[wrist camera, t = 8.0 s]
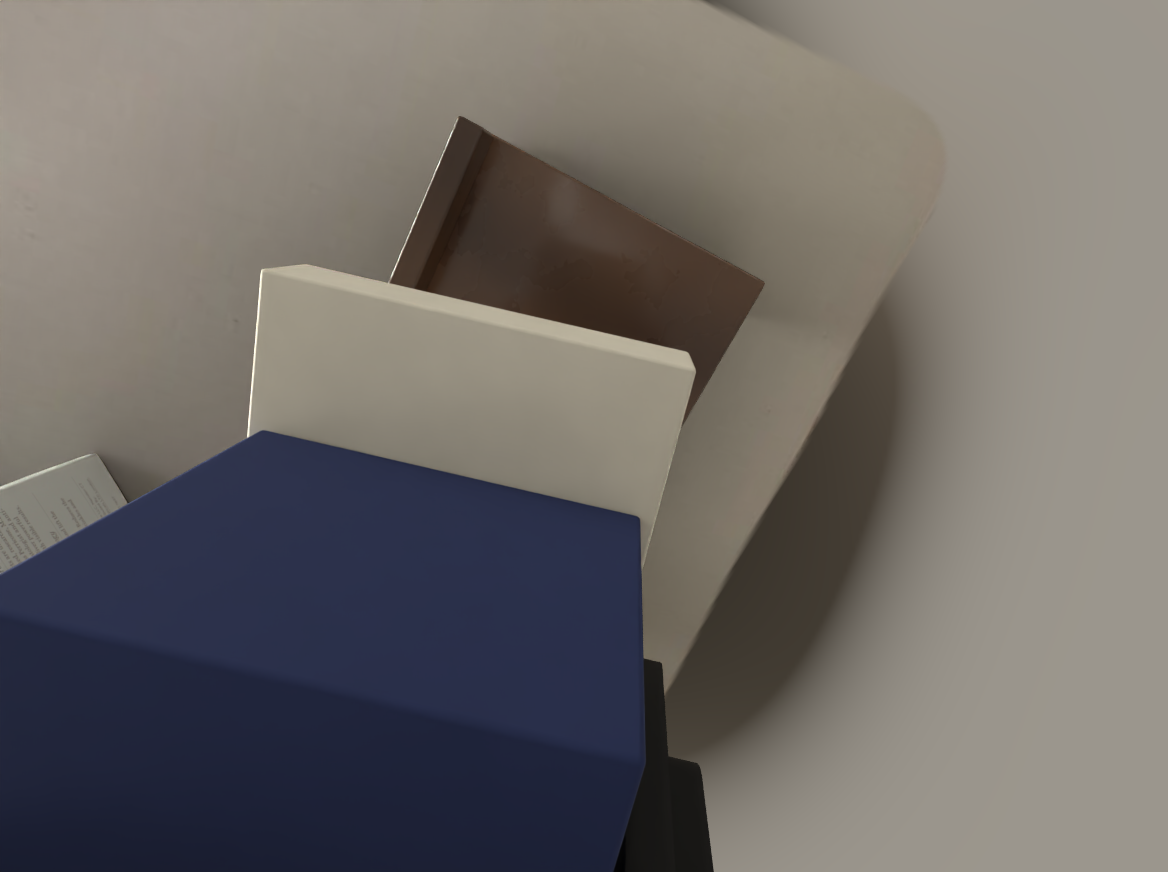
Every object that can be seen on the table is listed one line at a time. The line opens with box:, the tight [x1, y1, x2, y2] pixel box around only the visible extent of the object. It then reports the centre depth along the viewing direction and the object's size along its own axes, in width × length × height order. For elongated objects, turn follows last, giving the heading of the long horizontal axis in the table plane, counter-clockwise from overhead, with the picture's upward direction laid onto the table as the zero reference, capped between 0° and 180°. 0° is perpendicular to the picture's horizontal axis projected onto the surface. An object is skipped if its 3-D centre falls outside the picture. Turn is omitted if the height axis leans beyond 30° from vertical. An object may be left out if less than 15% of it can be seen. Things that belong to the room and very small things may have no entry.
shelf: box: [388, 116, 765, 427], centre depth 26 cm, size 16×10×8 cm, turn 153°
